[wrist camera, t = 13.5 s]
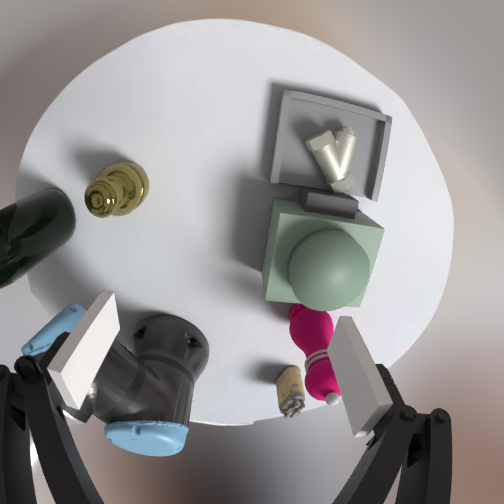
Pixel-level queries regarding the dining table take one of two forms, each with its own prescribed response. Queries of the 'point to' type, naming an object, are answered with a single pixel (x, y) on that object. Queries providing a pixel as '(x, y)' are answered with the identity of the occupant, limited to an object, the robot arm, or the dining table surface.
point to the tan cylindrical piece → (290, 392)
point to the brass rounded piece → (117, 190)
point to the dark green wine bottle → (33, 232)
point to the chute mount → (333, 119)
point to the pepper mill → (315, 351)
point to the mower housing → (319, 251)
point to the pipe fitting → (334, 157)
